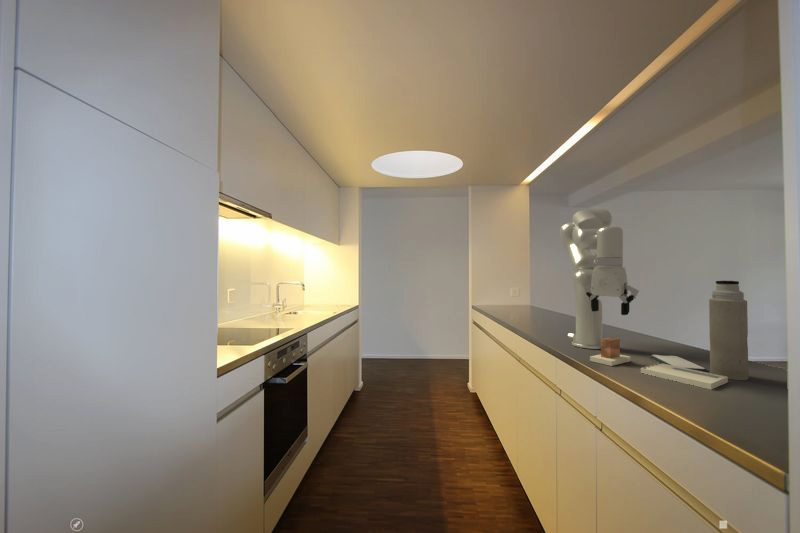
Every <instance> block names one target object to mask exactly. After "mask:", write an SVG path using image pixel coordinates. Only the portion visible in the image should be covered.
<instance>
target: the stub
mask: <svg viewBox="0 0 800 533" xmlns="http://www.w3.org/2000/svg"><path fill="white" fill-rule="evenodd" d="M620 343H621V338H615V337H605V338H602V339H601V349H600V354H596V355H590V356H589V362H593V363H597V364H601V365H605V366H606V365H607V366H609V367H614V366H617V365H622V364H624V363H629V362H631V361H632V357H631V356H630V355H624V354H621V350H620V348H621V347H620V346H621V344H620Z"/></svg>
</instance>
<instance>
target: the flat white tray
mask: <svg viewBox="0 0 800 533" xmlns="http://www.w3.org/2000/svg"><path fill="white" fill-rule="evenodd" d="M642 373H644V374H643V375H647V374H648V375H647V376H651V375H652V377H655V376H656V378H660V379H663V380H668V379H669V381H672V380H673V382H676V381H677V383H681V384H686V385H689V384H690V386H693V385H694V387H699V388H703V389H706V390H710V391H711V390H714V389H715V388H719V387H720V386H723V385H725V384H726V383H728V382H729V379H728V377H727V376H722V375H717V374H712V373H710V372H702V371H697V370H692V369H687V368H682V367H677V366H672V365H668V364H663V363H660V362H657V363H654V364H651V365H647V366H643V367H640V374H642Z"/></svg>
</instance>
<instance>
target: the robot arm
mask: <svg viewBox="0 0 800 533" xmlns="http://www.w3.org/2000/svg"><path fill="white" fill-rule="evenodd" d="M612 221H613V218H612V214H611V212H610V211H609V210H608V209H606V208H595V209H592V208H590V209H581V210H578V211H576V212H575V213H574V214H573V216H572V219H571V221H570V222H567V223H564V224H562V225H561V226H560V228H559V236H560V237H559V239H560V241H561V244H562V247H563V248H564V249H565V251H566V252H567V254H568V255H569V259H570V263H571V266H572V269H573V270H574V273H573V276H572V282H573V288H574V296H575V333H572V332H568V334H567V338H569V339H572V341H571V345H572V346H573V347H577V348H581V349H588V350H590V349H591V350H601V339H603V304H602V301H601V300H600V298H599V297H611V298H617V297H618V298H619V299H620V300H621V301H622V302H621V303H620V309H621V310H620V314H621V316H627V315H629V313H630V304H631V303H632V301H634V300H635V299H636V297H637V296H638V293H640V290H639V289H637V288H635V287H633V286H631V285H629V284H628V275H627V270H626V267H624V263H623V262H624V260H623V259H624V258H623V256H624V230H623V228H622V227H620V226H611V225H612ZM590 250H596V252H591V251H590ZM628 292H630V294H629V293H628ZM628 294H629V296H628Z"/></svg>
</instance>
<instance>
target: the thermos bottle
mask: <svg viewBox="0 0 800 533" xmlns="http://www.w3.org/2000/svg"><path fill="white" fill-rule="evenodd" d="M715 284H716V286H715V290H713V291H712V293H711V296H712V297H711V298H709V299H708V301H709V302H708V307H709V310H708V311H709V313H708V314H709V315H708V316H709V317H708V318H709V373H712V374H717V375H722V376H727V377H728V380H735V381H747V380H749V347H748V346H749V345H748V335H749V332H748V331H749V330H748V328H749V327H748V318H749V317H748V301H747V300H746V299H744V298H745V294H744V292H742V291H741V290H740V285H739V284H740V282H739V281H738V280H717V281H715Z"/></svg>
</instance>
